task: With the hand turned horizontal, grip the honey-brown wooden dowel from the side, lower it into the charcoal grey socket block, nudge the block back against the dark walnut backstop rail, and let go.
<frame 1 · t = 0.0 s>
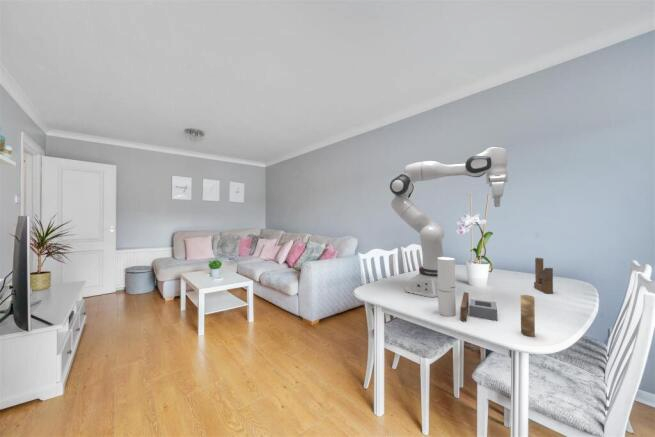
hand: (497, 206, 125), 48 cm above the table, tool pointing down, fingers open, 8 cm apart
wooden block: (543, 291, 140), on the table
backstop rail: (465, 312, 113), on the table
dowel: (527, 334, 92), on the table
cylindrical container: (446, 313, 113), on the table
socket block: (483, 315, 110), on the table
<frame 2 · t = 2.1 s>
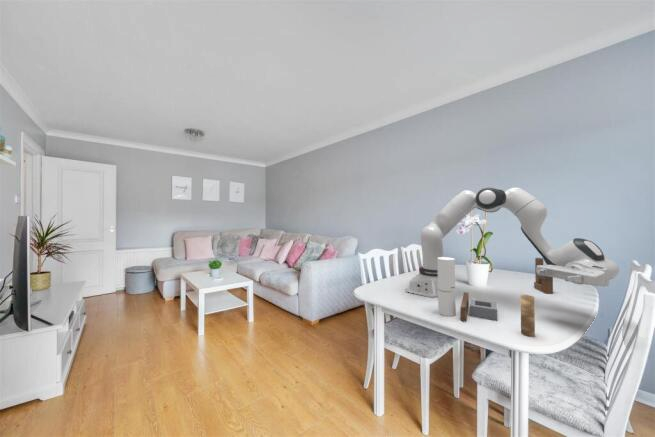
hand: (552, 276, 94), 21 cm above the table, tool horizontal, fingers open, 8 cm apart
nothing on the table moved.
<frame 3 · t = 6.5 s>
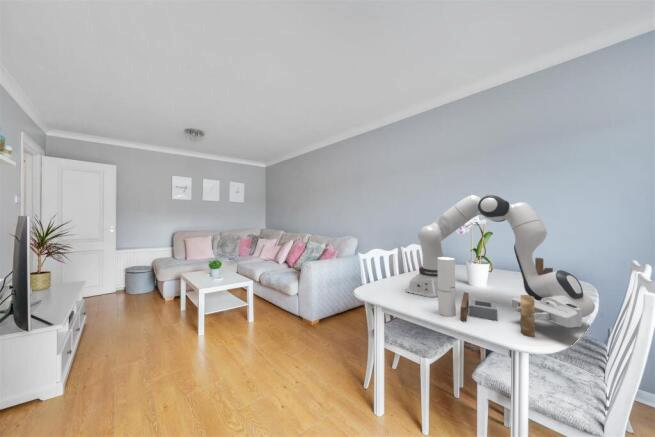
hand: (525, 312, 92), 8 cm above the table, tool horizontal, fingers closed on dowel, 4 cm apart
dowel: (527, 334, 92), on the table, touching gripper
everything else where it was.
when the fingers open (10 cm above the table, at t = 13.1 s): dowel drops 2 cm, resting on socket block.
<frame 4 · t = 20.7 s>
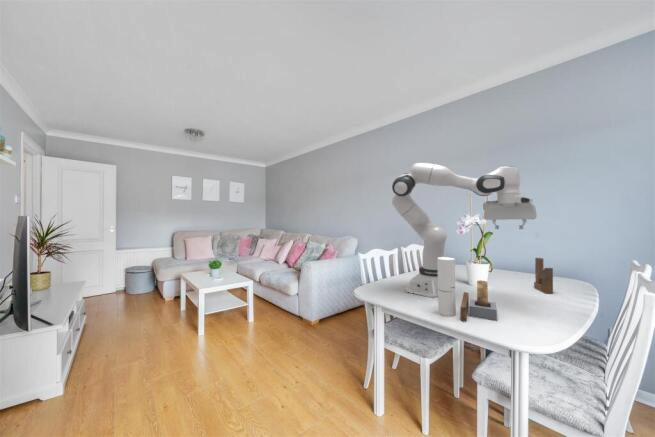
hand: (508, 229, 118), 37 cm above the table, tool pointing down, fingers open, 8 cm apart
dowel: (482, 312, 111), point 1 cm above the table, touching socket block
socket block: (482, 315, 110), on the table, touching dowel
everything else where it was.
at the end: dowel 0.2 cm off-centre on the socket block, point 1.0 cm above the socket block's base; dowel tilted 0°; socket block 0.9 cm from the target spot, on the table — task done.
